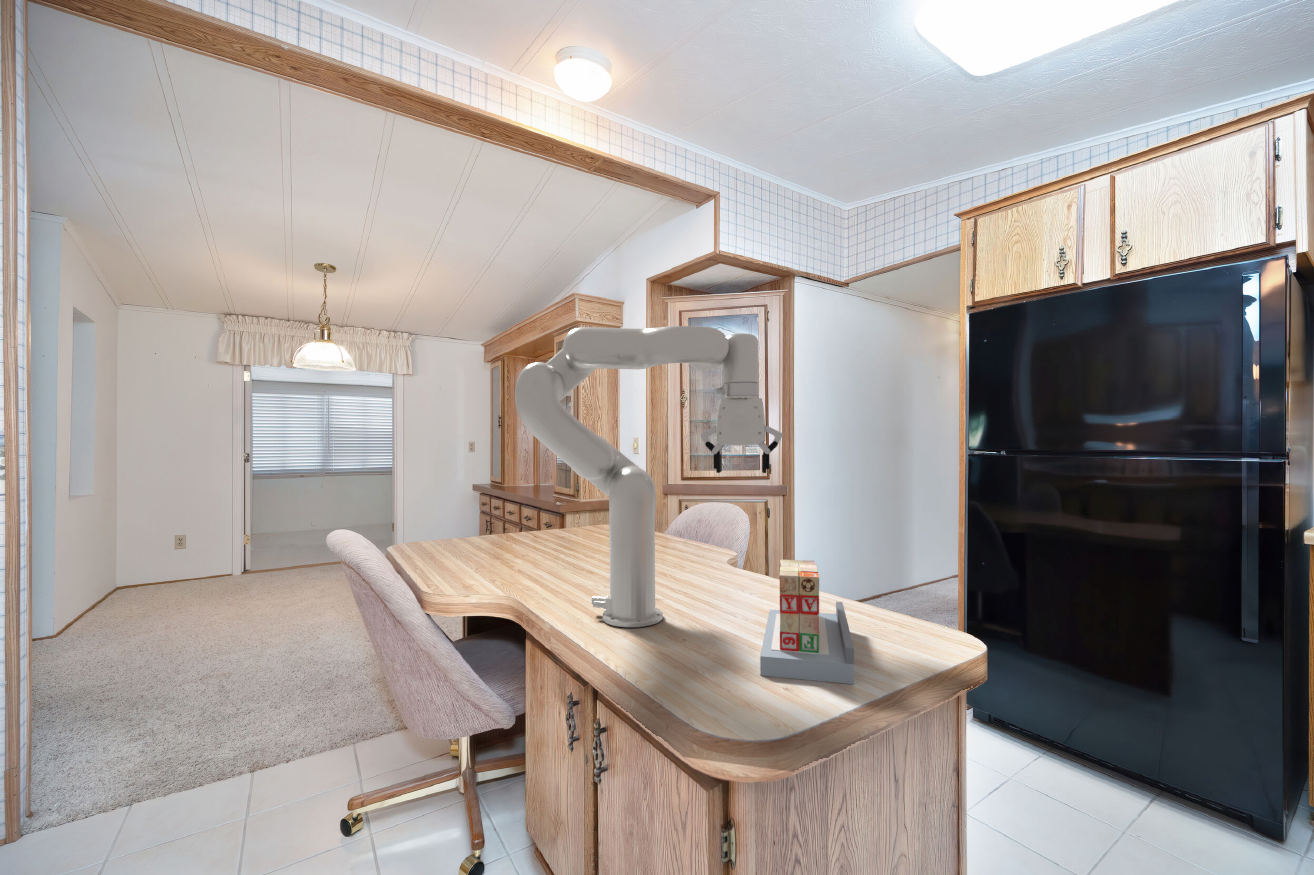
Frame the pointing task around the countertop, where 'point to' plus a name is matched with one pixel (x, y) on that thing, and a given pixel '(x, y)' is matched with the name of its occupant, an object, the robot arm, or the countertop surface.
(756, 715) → the countertop surface
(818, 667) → the tray
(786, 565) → the stack of blocks
